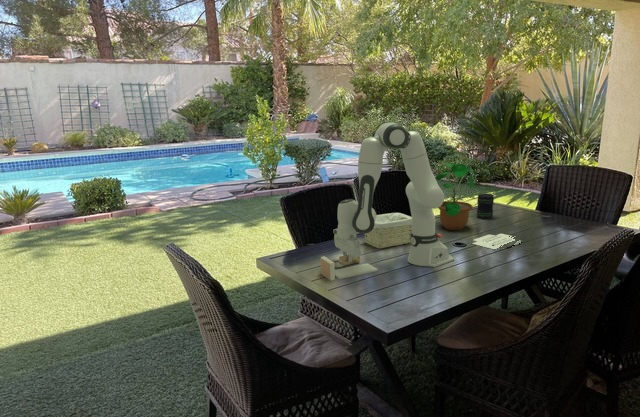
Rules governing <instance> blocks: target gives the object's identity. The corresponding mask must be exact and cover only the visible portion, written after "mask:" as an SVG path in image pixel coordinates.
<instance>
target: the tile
mask: <svg viewBox="0 0 640 417" xmlns="http://www.w3.org/2000/svg"><path fill="white" fill-rule="evenodd" d="M335 263H336V262H335V261H332V260H331V259H329V258H328V257H327V256H324V255H323V256H321V257H320V273H321V274H322V275H323V276H324V277H325V278H327V279H328V280H329V281H335V280H336V276H335V270H336V268H335Z"/></svg>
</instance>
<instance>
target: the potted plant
mask: <svg viewBox="0 0 640 417" xmlns="http://www.w3.org/2000/svg"><path fill="white" fill-rule="evenodd" d="M443 167H446V168H451V171H450V170H443V171H442V172H441V173H440V174H436V176H434V177H435V179H436V181H440V180H443V179H444V184H443V188H445V189H446V190H447V192H448V194H449V196H450V198H452V199H453V200H451V201H450V200H449V199H447V198H445V197H444V202H443V203H442V205H441V206H439V207H438V208H437V209H439V220H440V222H441V225H442V226H443V227H444V228H445V229H446V230H448V231H461V230H463V228H464V227H465V226H466V225H467V224H468V221H469V218H470V217H469V215H470V214H469V213H470V212H471V210H472V209H473V204H471V203H469V202H465V201H459V199H460V198H461V197H462V194H463V193H464V191H465V189H466V187H467V185H469V187H470V188H473V187H474V186H475V182H474V176H473V175H472V174H473V173H474V174H476V172H475V171H474V170H473V169H471V168H467V166H466V165H464V164H462V163H456V164H452V163H448V164H443V165H441V166H440V168H443ZM450 172H452V173H453V174H454V175H455V179H454V183H456V180H457V178H461V179H460V182H459V183H458V186H457V189H456V184H452V183H451V182H450V181H451V180H450ZM468 172H470V173H469V176H468V179H467V180H468V181H467V183H466V184H465V187H464V189H462V192H461V194H460V195H459V196H458V198H457V199H456V194H457V192H458V189H459V186H460V185H461V182H462V180H463V178H464V176H466V175H467V173H468ZM471 172H473V173H471ZM453 186H454V187H453ZM448 189H449V190H448ZM445 200H446V201H445Z"/></svg>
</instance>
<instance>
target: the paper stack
mask: <svg viewBox="0 0 640 417" xmlns="http://www.w3.org/2000/svg"><path fill="white" fill-rule="evenodd" d="M509 236H510V237H509ZM512 236H513V235H509V234H506V233H505V234H504V233H499V234H496V235H494V234H489V233H488V234H486V235H483V236H480V237H477V238H474V239H473V242H472V243H471V245H476V246H478V247H479V246H480V247H483V248H488V249H491V250H494V249H496V250H498V249H500V248H499V247H500V246H501V245H502V246H503V245H504V244H507V243H509V242H512V241H515V239H513V238H514V237H515V236H514V237H512ZM511 237H512V238H511ZM521 242H522V240H519V241H517V242H516V243H515V244H514V245H515V246H517V245H519V243H520V244H522V243H521ZM492 245H494V246H492ZM502 246H501V247H502ZM497 248H498V249H497Z"/></svg>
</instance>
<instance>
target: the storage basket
mask: <svg viewBox="0 0 640 417" xmlns="http://www.w3.org/2000/svg"><path fill="white" fill-rule="evenodd" d="M411 232H412V216H410V215H407V214H405V213H401V212H391V213H383V214H376V219H375V224H374V228H373V230H372V231H371V232H369V233H367V234H364V241H365V243H366V244H368V245H369V246H371V247H374V248H377V249H384V248H390V247H395V246H396V247H397V246H402V245H404V244H405V245H407V244H411V240H410V237H411Z"/></svg>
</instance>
